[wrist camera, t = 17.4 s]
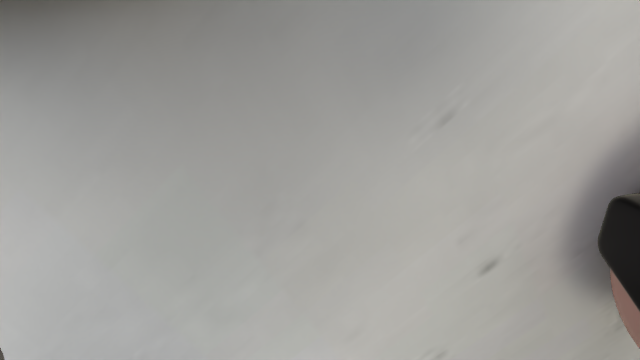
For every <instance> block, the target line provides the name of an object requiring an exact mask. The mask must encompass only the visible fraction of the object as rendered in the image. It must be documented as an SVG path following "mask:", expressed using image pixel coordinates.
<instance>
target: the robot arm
mask: <svg viewBox="0 0 640 360" xmlns="http://www.w3.org/2000/svg"><path fill="white" fill-rule="evenodd" d="M598 248H599V251H600V253H601V255H602V257H603V258H604V260H605V261H606V263H607V264H608V266H609V267H610V269H611V270H612V272H613V273H614V275H615V276H616V278H617V279H618V281H619V282H620V283H621V285H622V286H623V288H624V289H625V291H626V292H627V294H628V295H629V297H630V298H631V300H632V301H633V303H634V304H635V306H636V307H637V309H638V310H639V312H640V194H629V195H624V196H618V197H616V198H614V199H612V201H611V202H610V203H609V205H608V208H607V211H606V214H605V218H604V221H603V224H602V227H601V230H600V234H599V237H598ZM0 360H4V356H3V353H2V351H1V348H0Z"/></svg>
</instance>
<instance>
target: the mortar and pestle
mask: <svg viewBox="0 0 640 360" xmlns="http://www.w3.org/2000/svg"><path fill="white" fill-rule="evenodd" d="M610 278H611V285H612V291H613V295H614V299H615V303H616V306H617V309H618V311H619V314H620V316H621V319H622V321H623V323H624V325H625V327H626V328H627V330H628V332H629V334H630V335H631V337H632V338H633V340H634V341H635V343H636V344H637V346H638V347H639V348H640V312H639V310H638V309H637V307H636V306H635V304H634V303H633V301H632V300H631V298H630V297H629V295H628V294H627V292H626V291H625V289H624V288H623V286H622V285H621V283H620V282H619V281H618V279H617V278H616V276H615V275H614V273H613V272H612V270H611V269H610Z"/></svg>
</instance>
